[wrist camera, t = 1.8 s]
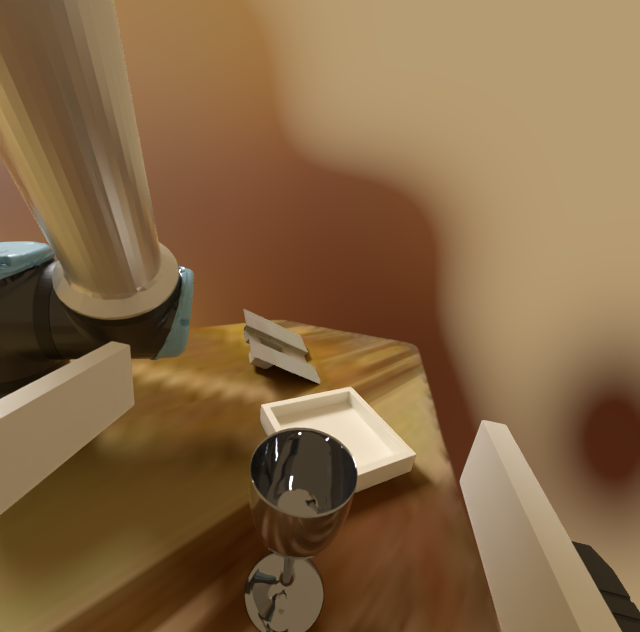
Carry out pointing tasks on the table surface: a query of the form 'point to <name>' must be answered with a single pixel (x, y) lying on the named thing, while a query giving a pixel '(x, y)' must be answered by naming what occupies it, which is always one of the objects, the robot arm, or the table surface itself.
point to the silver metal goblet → (295, 523)
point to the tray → (346, 431)
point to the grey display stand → (276, 347)
